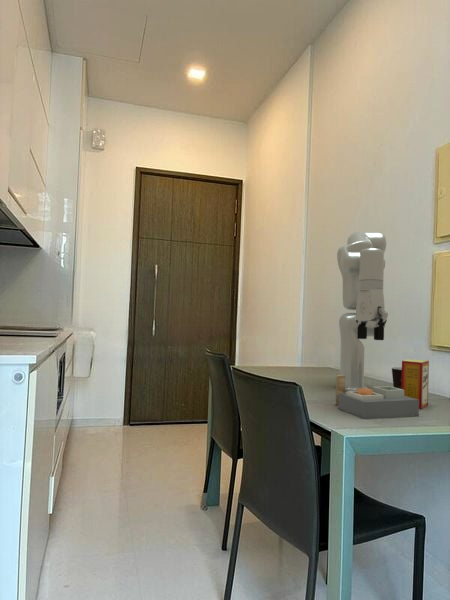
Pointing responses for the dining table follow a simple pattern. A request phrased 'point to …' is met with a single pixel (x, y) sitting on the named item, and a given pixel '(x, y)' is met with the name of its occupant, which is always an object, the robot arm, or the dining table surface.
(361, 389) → the breaker button
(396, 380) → the coffee mug
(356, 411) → the grey compartment tray
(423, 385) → the baking soda box
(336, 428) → the dining table surface
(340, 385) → the wooden block
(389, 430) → the dining table surface
